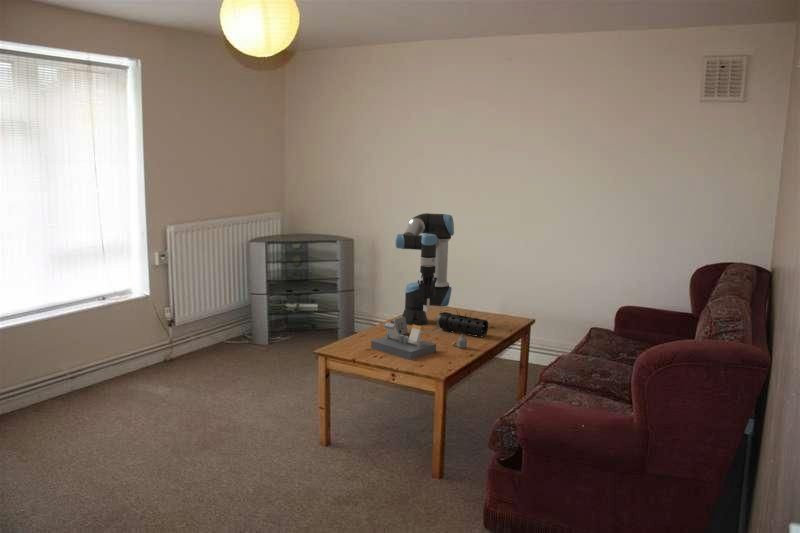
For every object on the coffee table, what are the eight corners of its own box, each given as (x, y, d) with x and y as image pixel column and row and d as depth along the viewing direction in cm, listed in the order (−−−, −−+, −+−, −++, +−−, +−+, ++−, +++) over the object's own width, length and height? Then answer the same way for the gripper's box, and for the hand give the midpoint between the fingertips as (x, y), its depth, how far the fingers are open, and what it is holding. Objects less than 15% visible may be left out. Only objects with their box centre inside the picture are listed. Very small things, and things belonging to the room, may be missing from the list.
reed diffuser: (471, 348, 344) (474, 310, 340) (466, 351, 338) (468, 313, 334) (454, 344, 349) (456, 307, 345) (448, 347, 343) (450, 310, 340)
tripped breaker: (409, 343, 335) (415, 325, 336) (418, 345, 331) (424, 327, 333) (406, 342, 333) (412, 324, 335) (415, 344, 329) (421, 326, 331)
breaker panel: (396, 340, 352) (397, 327, 351) (435, 351, 336) (436, 337, 335) (370, 348, 337) (371, 334, 336) (410, 360, 321) (411, 345, 320)
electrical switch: (397, 336, 361) (396, 319, 360) (390, 335, 364) (389, 318, 363) (408, 333, 368) (407, 316, 367) (400, 332, 371) (400, 316, 370)
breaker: (392, 336, 343) (386, 322, 338) (401, 338, 339) (395, 324, 334) (389, 339, 341) (383, 325, 336) (398, 341, 337) (392, 327, 332)
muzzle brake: (480, 339, 360) (481, 321, 359) (435, 331, 375) (436, 313, 373) (488, 336, 368) (489, 318, 367) (443, 327, 383) (444, 310, 381)
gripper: (425, 267, 325) (423, 314, 330) (441, 264, 335) (439, 310, 340) (413, 265, 330) (412, 311, 335) (430, 262, 340) (428, 307, 344)
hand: (426, 311), depth 337 cm, fingers closed
